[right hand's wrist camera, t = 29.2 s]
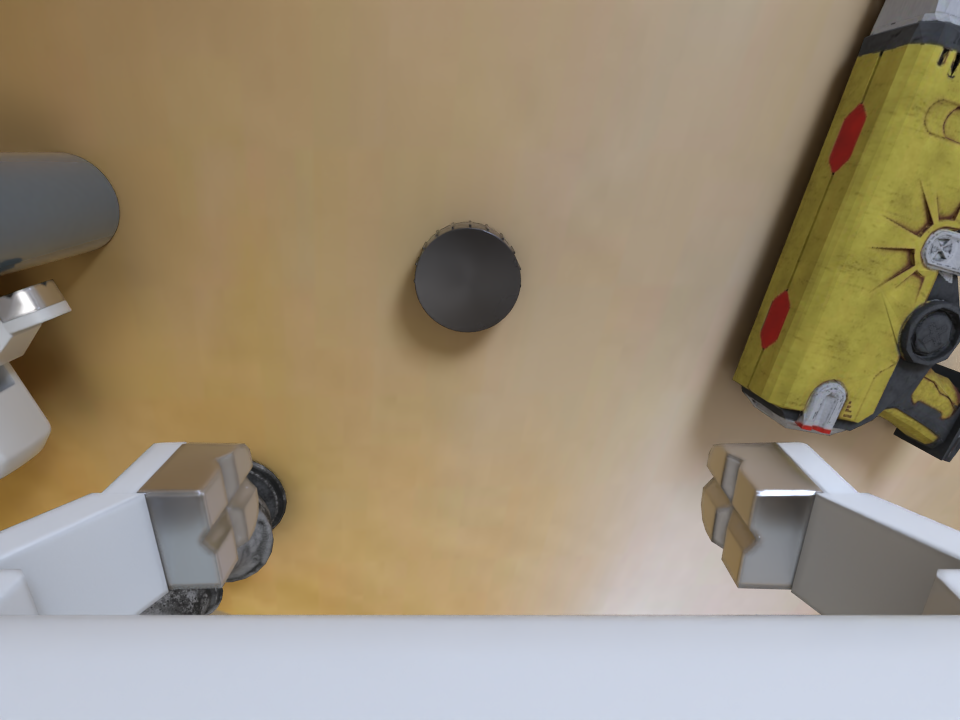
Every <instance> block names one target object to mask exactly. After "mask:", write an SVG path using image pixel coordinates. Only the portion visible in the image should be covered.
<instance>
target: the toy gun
mask: <svg viewBox="0 0 960 720" xmlns="http://www.w3.org/2000/svg"><path fill="white" fill-rule="evenodd" d="M957 276H960V0H886V1H885V3H884V5H883V8H882V10H881V12H880V14H879V16H878V18H877V20H876V23H875V25H874V27H873V29H872V31H871V34H870V36H867V37H865V38H864V40H863V43H862V46H861V49H860V51H859V54H858V57H857V59H856V62H855V65H854V67H853V70H852V72H851V75H850V78H849V80H848V83H847V85H846V88H845V90H844V93H843V96H842V98H841V101H840V103H839V106H838V108H837V111H836V114H835V116H834V119H833V121H832V124H831V127H830V129H829V132H828V134H827V137H826V139H825V142H824V145H823V147H822V150H821V152H820V155H819V157H818V160H817V163H816V165H815V168H814V170H813V173H812V175H811V178H810V181H809V183H808V186H807V188H806V191H805V194H804V196H803V199H802V201H801V204H800V206H799V209H798V212H797V214H796V217H795V219H794V222H793V224H792V227H791V230H790V232H789V235H788V237H787V240H786V242H785V245H784V248H783V250H782V253H781V255H780V258H779V261H778V263H777V266H776V268H775V271H774V273H773V276H772V279H771V281H770V284H769V286H768V289H767V291H766V294H765V297H764V299H763V302H762V304H761V307H760V309H759V312H758V315H757V317H756V320H755V322H754V325H753V328H752V330H751V333H750V335H749V338H748V340H747V343H746V346H745V348H744V351H743V353H742V356H741V358H740V361H739V364H738V366H737V369H736V371H735V374H734V376H733V379H732V380H734V381H736V382H737V383H739V384H740V385H741V386H742V391H743V392H744V394H745V395H746V396H747V397H748V398H749V400H750V401H751V403H752V404H753V406H754V407H756V408H757V409H759V410H760V411H762V412H763V413H764V414H766V415H767V416H769V417H770V418H772V419H773V420H775V421H776V422H778V423H779V424H781V425H782V426H784V427H785V428H789V429H795V430H801V431H806V432H812V433H818V434H823V435H829V436H830V435H832V434H835V433H838V432H842V431H845V430H849V431H851V430H853V429H855V428H857V427H859V426H861V425H863V424H865V423H867V422H869V421H871V420H873V419H874V418H875V417H877V416H881V417H883V418H884V419H886V420H888V421H889V422H891V423H892V424H893V425H895V426H896V427H897V428H896V430H895V432H894V435H896V436H898V437H899V438H901V439H903V440H905V441H907V442H909V443H910V444H912V445H914V446H916V447H918V448H920V449H921V450H923V451H925V452H927V453H929V454H931V455H932V456H934V457H936V458H938V459H940V460H944V461H947V462H950V461H951V460H952V458H953V457H954V456H955V455H956V453H957V452H958V450H959V449H960V372H957V371H954V370H952V369H949V368H947V367H944V366H941V365H939V364H936V363H939V362H941V361H944V360H946V359H948V357H949V356H950V355H951V353H952V352H953V350H954V349H955V348H956V346H957V345H958V344H959V342H960V306H959V292H958V277H957Z"/></svg>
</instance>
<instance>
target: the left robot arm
mask: <svg viewBox="0 0 960 720" xmlns="http://www.w3.org/2000/svg"><path fill="white" fill-rule="evenodd" d="M64 300H65V298H64V297H63V295H62V294H61V292H60V290H59V289H58V287H57V286H56V284H55V283H54V281H53V279H52V280H49V281H45V282H43V283H39V284H36V285H33V286H30V287H27V288H24V289H21V290H18V291H16V292H14V293H11V294H8V295H5V296H2V297H0V319H1V320H0V479H1V478H3V477H5V476H7V475H8V474H10V473H12V472H13V471H15V470H16V469H18V468H19V467H21V466H22V465H24V464H25V463H26V462H28V461H29V460H30V459H32V458H33V457H34V456H36V455H37V454H38V453H39V452H40V451H41V450H42V449H43V448H44V446H45V444H46V441H47V439H48V437H49V435H50V432H51V426H50V423H49V421H48V420H47V418H46V417H45V415H44V414H43V412H42V411H41V409H40V408H39V406H38V405H37V403H36V402H35V400H34V399H33V397H32V396H31V394H30V393H29V391H28V390H27V388H26V387H25V385H24V384H23V382H22V381H21V379H20V378H19V376H18V375H17V373H16V372H15V370H14V369H13V367H12V366H11V364H10V363H9V362H10V361H12V360H14V359H16V358H18V357H20V356H23V355H24V353H25V351H26V350H27V348H28V347H29V345H30V343H31V342H32V340H33V338H34V337H35V335H36V333H37V332H38V330H39V328H40V327H41V325H42V324H41V323H43V322H45V321H48V320H50V319H53V318H55V317H58V316H60V315H63V314H65V313H67V312H70V311H72V310H71V308H70V306H69V305H68V303H67V301H66V300H65V301H64ZM61 301H62V302H61Z"/></svg>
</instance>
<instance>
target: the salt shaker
mask: <svg viewBox="0 0 960 720" xmlns="http://www.w3.org/2000/svg"><path fill="white" fill-rule="evenodd" d="M252 463H253V467H252V469H251V470H250V472H249V473H248V475H247V476H246V477H247V478H248V479H249V480H250V481H251V482H252V483H253V484H254V485H255V486H256V487H257V492H258V499H259V514H258V518H257V522H256V527H255V530H254V532H253V534H252V536H251V538H250V540H249V541H248V542H247V543H245V544H243V545H242V546H240V547H239V548H237V554H238V561H237V563H236V565H235V566H234V568H233V570H232V572H231V573H230V575H229V577H228V579H227V580H226V582H234V581H238V580H242V579H245V578H247V577H249V576H251V575H253V574H255V573H256V572H258V571H259V570H260V569H261V568H262V567H263V566H264V565H265V564H266V562H267V560H268V558H269V556H270V554H271V552H272V547H273V534H272V529H273V528H274V527H275V526H276V525H277V524H278V523H279V522H280V521H281V519H282V517H283V515H284V513H285V509H286V495H285V491H284V489H283V487H282V484H281V482H280V481H279V480H278V479H277V477H276V476H275V475H274V474H273V473H272V472H271V471H269V470H268V469H267V468H265V467H264V466H263V465H260V464H258V463H256V462H253V461H252ZM222 595H223V589H222V588H205V589H169V592H168V593H167V594H166V595H164V596H163V597H162V598H160V599H159V600H158V601H156V602H155V603H154V604H152V605H151V606H150V607H148V608H147V609H146V610H144V611H143V612H142V613H140V614H139V615H209V614H211V613H212V612H213V611H214V610H215V609H216V608H217V607H218V606H219V604H220V602H221V600H222Z"/></svg>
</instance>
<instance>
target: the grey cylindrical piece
mask: <svg viewBox="0 0 960 720" xmlns="http://www.w3.org/2000/svg"><path fill="white" fill-rule="evenodd" d="M118 223H119V204H118V200H117V197H116V194H115V192H114V190H113V188H112V186H111V184H110V183H109V181H108V180H107V178H106V177H105V176H104V175H103V174H102V173H101V172H100V171H99V170H98V169H97V168H96V167H95V166H93V165H92V164H91V163H89V162H88V161H86V160H84V159H82V158H80V157H78V156H75V155H72V154H69V153H63V152H0V276H2V275H5V274H9V273H13V272H17V271H20V270H24V269H28V268H31V267H35V266H39V265H42V264H46V263H50V262H53V261H57V260H61V259H65V258H68V257H72V256H76V255H79V254H83V253H87V252H90V251H94V250H97V249H99V248H101V247H102V246H104V245H105V244H106V243H107V242H108V241H109V240H110V239H111V238H112V237H113V235H114V233H115V231H116V229H117V226H118Z"/></svg>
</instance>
